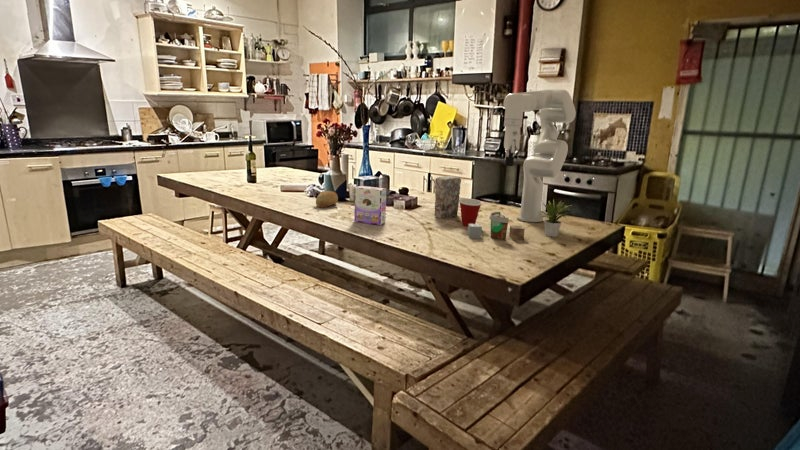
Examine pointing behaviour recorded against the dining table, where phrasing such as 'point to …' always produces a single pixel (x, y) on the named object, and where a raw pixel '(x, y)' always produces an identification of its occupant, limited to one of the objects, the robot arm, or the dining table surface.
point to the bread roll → (326, 199)
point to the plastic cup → (469, 211)
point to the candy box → (370, 205)
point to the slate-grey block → (474, 230)
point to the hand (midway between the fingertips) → (508, 165)
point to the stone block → (447, 196)
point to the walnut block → (516, 232)
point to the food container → (498, 226)
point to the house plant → (553, 218)
